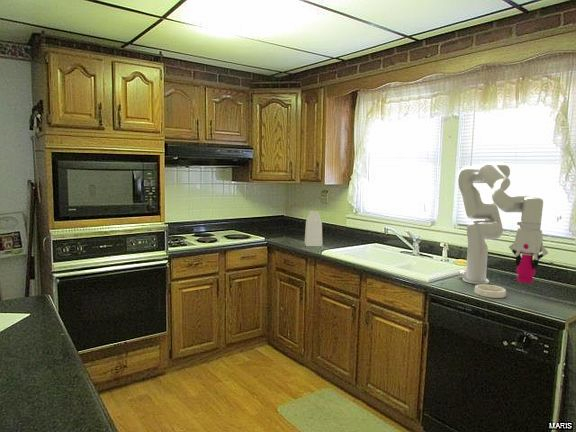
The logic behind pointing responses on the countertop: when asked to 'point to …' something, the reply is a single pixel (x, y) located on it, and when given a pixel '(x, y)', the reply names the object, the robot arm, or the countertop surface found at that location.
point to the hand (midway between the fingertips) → (526, 266)
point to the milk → (313, 229)
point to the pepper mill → (526, 267)
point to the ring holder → (490, 291)
